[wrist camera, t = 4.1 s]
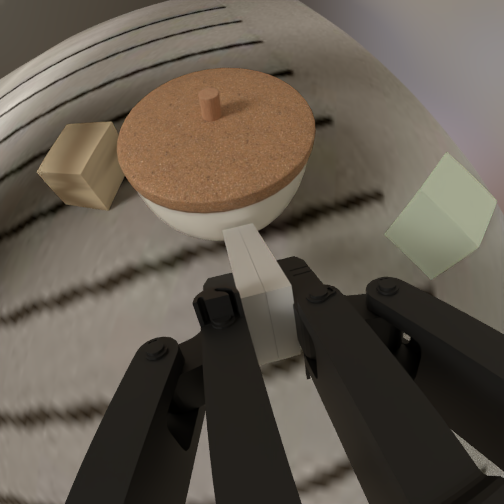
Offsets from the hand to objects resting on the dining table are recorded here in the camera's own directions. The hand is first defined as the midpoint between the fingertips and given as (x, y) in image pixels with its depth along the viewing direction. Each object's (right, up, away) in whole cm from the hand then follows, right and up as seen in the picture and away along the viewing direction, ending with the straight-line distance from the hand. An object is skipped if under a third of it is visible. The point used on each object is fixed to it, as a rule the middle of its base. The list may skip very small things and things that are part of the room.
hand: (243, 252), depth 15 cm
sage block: (+14, +1, +5) cm, 15 cm away
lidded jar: (-1, +4, +7) cm, 8 cm away
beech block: (-13, +6, +8) cm, 16 cm away
